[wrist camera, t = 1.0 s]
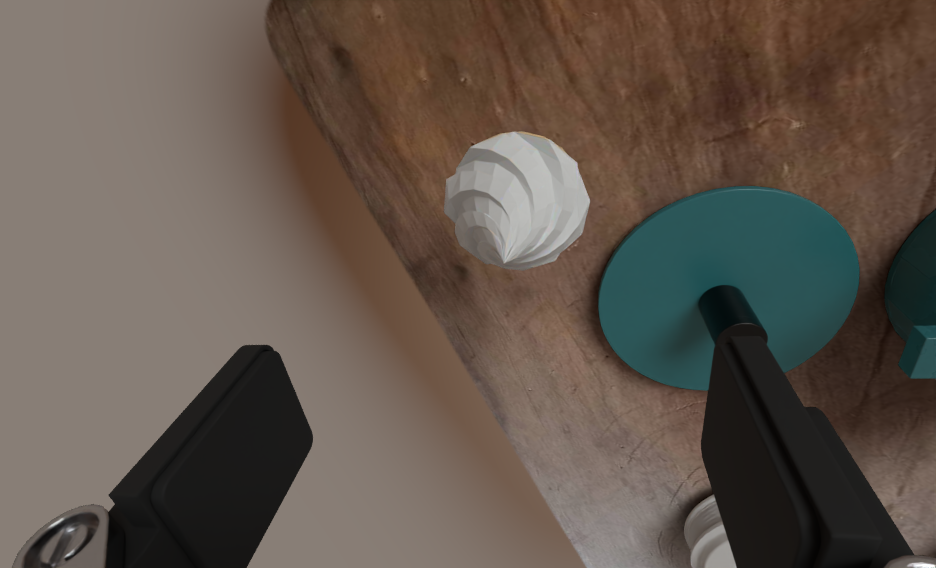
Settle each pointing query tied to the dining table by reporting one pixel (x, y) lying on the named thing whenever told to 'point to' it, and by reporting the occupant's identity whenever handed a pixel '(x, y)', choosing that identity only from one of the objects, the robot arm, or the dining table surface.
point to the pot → (915, 300)
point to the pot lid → (727, 282)
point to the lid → (707, 537)
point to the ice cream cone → (516, 201)
